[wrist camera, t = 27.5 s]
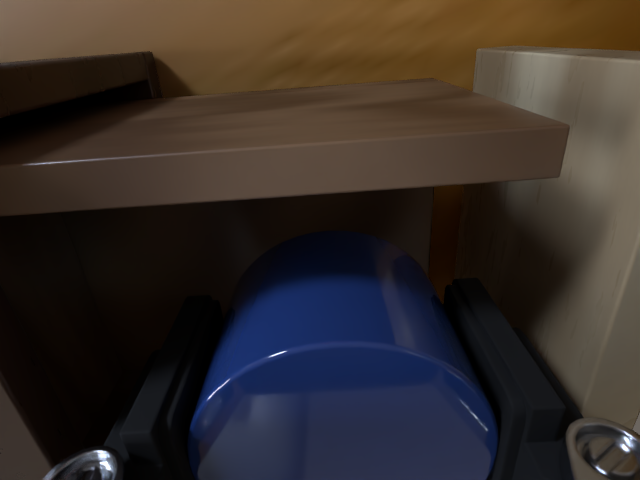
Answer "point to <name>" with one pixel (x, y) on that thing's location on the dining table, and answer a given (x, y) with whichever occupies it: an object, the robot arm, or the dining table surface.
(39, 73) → the cabinet
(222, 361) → the blue cylinder can
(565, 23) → the dining table surface
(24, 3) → the dining table surface
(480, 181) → the drawer
